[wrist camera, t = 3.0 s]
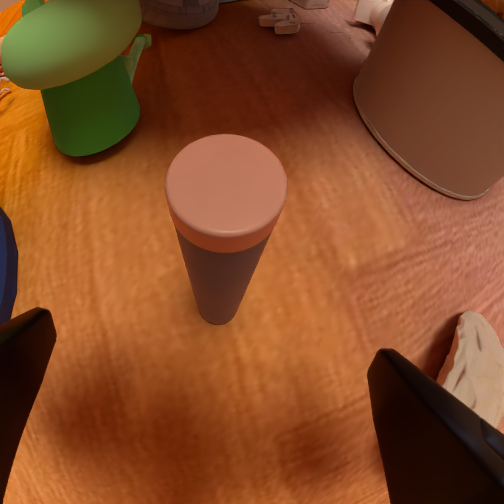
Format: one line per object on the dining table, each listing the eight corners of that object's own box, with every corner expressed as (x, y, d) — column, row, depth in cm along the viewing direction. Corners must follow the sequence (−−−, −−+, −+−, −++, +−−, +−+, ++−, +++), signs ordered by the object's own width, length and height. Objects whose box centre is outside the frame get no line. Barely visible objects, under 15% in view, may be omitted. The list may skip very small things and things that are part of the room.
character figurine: (446, 19, 23) (406, -4, 29) (383, -8, 22) (351, -22, 28) (425, 69, 30) (392, 38, 36) (365, 50, 29) (340, 23, 35)
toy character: (162, 49, 27) (158, -54, 15) (153, 166, 20) (123, -17, 8) (81, 64, 25) (61, -31, 13) (35, 187, 18) (-42, 50, 6)
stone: (434, 313, 22) (355, 472, 13) (478, 279, 18) (422, 467, 9) (483, 366, 20) (426, 519, 11) (526, 340, 16) (489, 515, 7)
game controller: (251, 18, 29) (254, 1, 27) (328, 19, 32) (332, 5, 30) (269, 37, 28) (273, 19, 25) (350, 39, 30) (356, 24, 28)
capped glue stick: (226, 331, 17) (257, 259, 5) (191, 314, 17) (140, 201, 5) (243, 297, 18) (305, 160, 6) (209, 280, 18) (203, 118, 6)
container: (459, 239, 21) (589, 142, 7) (312, 87, 25) (361, -52, 11) (503, 159, 27) (572, 92, 13) (402, 58, 31) (446, -24, 17)
